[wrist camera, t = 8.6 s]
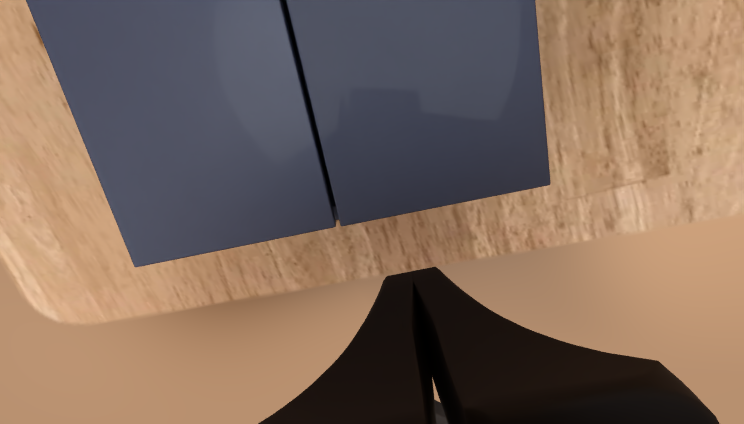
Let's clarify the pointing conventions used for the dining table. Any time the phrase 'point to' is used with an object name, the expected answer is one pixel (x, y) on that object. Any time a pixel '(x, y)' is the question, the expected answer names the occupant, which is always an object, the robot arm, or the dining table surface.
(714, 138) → the dining table surface
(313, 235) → the dining table surface
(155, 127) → the flap
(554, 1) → the dining table surface
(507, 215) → the dining table surface
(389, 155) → the carton
